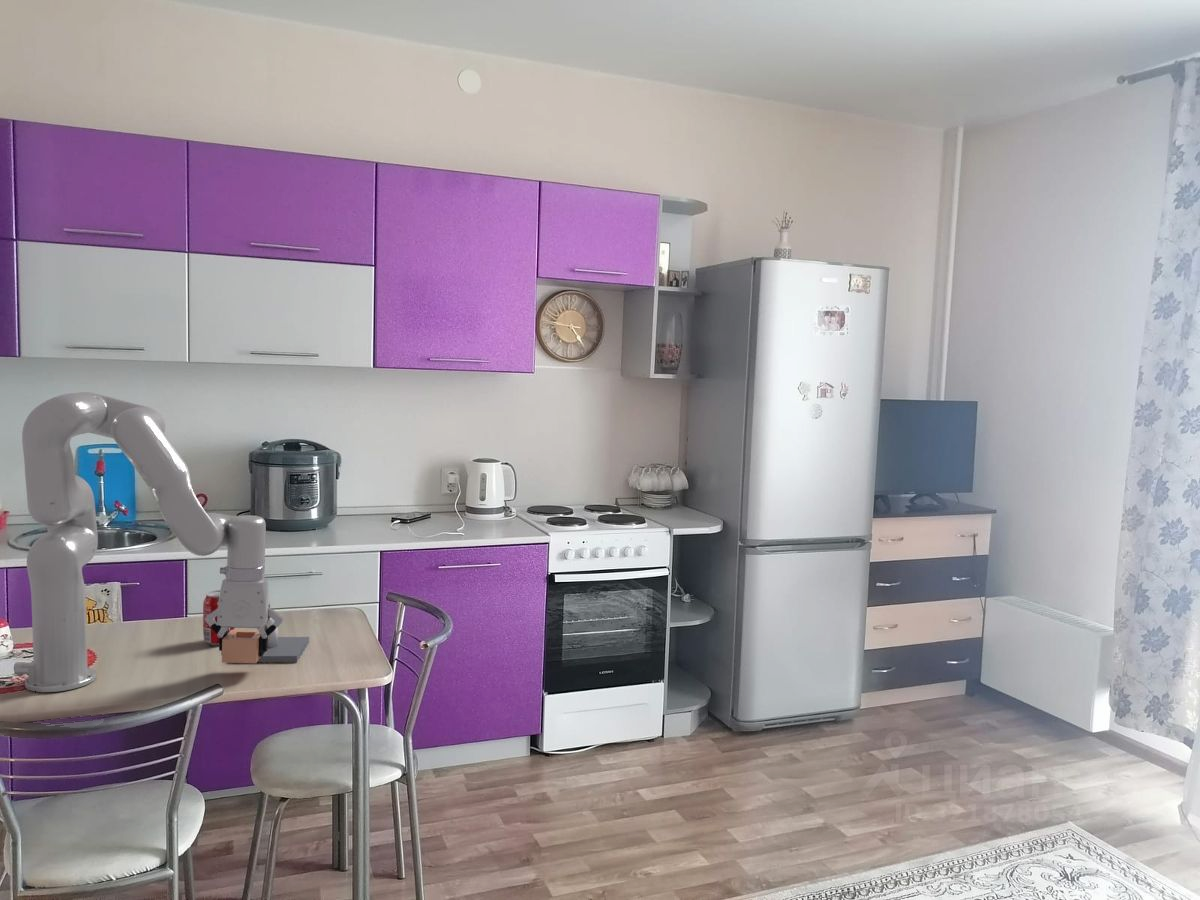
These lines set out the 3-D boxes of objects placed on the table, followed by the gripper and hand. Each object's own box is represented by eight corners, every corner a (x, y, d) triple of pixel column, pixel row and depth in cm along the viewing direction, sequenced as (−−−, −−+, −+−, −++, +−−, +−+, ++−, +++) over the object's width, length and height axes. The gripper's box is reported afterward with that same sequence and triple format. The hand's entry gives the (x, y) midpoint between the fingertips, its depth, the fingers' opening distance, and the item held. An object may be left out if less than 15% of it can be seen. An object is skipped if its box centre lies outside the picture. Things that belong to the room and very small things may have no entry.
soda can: (240, 638, 216) (240, 590, 215) (225, 647, 209) (225, 597, 208) (213, 636, 217) (212, 588, 216) (197, 645, 210) (196, 596, 209)
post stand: (232, 662, 199) (232, 628, 198) (248, 643, 213) (248, 610, 212) (297, 662, 201) (297, 627, 200) (309, 642, 215) (309, 610, 214)
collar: (221, 662, 188) (222, 639, 188) (231, 651, 195) (231, 629, 195) (256, 663, 189) (256, 640, 189) (264, 652, 196) (264, 630, 196)
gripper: (197, 576, 186) (195, 659, 187) (283, 579, 188) (281, 660, 190) (208, 568, 193) (206, 647, 195) (291, 570, 196) (288, 649, 197)
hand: (243, 653), depth 192 cm, fingers closed on collar, 7 cm apart
